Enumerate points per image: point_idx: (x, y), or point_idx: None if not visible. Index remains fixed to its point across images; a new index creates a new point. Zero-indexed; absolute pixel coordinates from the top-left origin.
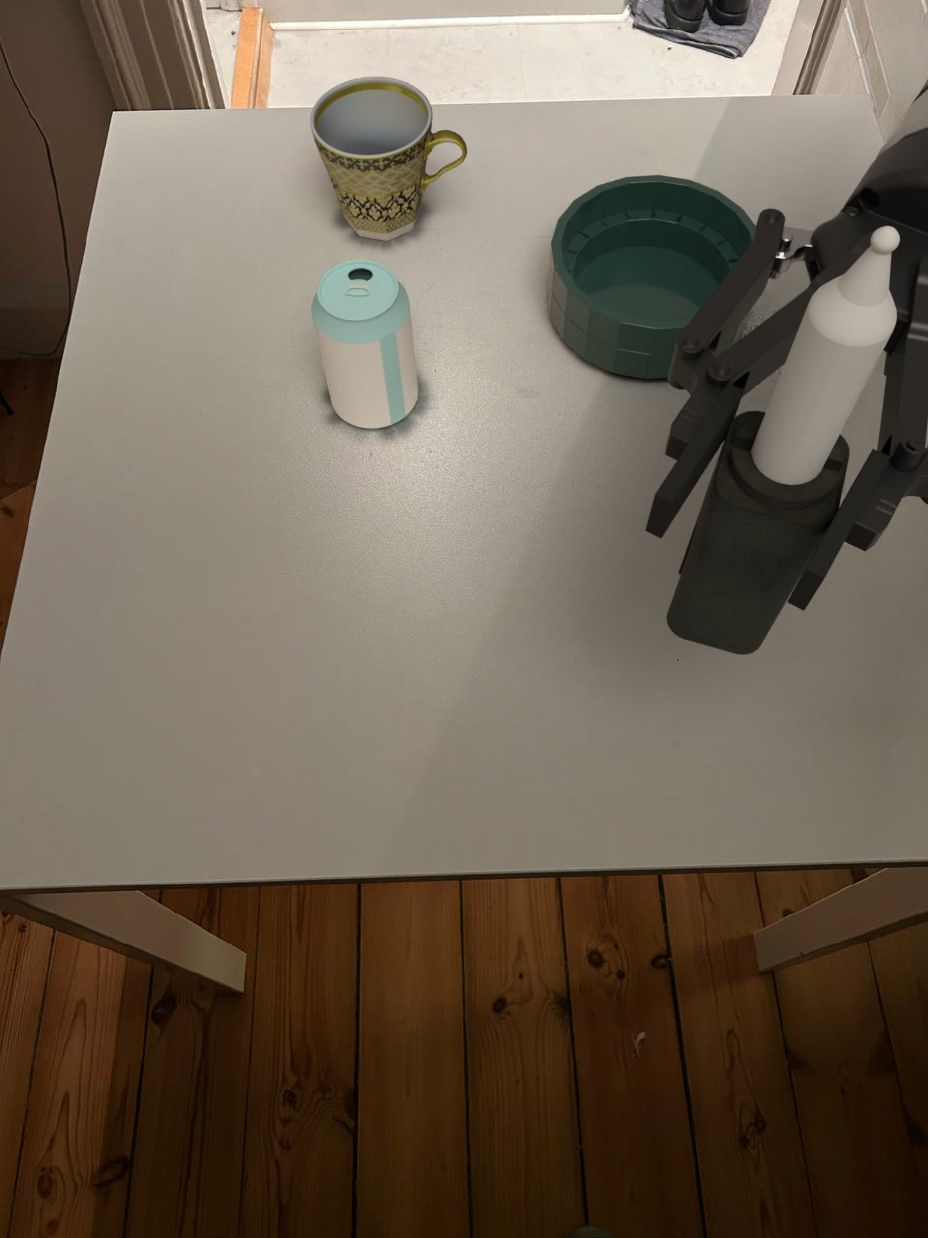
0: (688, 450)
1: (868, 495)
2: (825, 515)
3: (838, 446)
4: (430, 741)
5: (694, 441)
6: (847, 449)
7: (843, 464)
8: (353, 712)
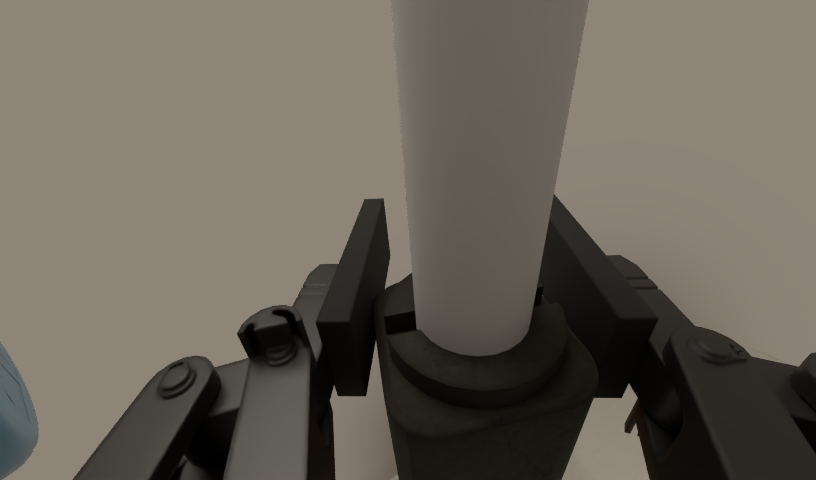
0: (573, 223)
1: (340, 264)
2: (385, 295)
3: (407, 358)
4: (580, 458)
5: (580, 232)
6: (391, 400)
7: (388, 366)
8: (634, 447)
